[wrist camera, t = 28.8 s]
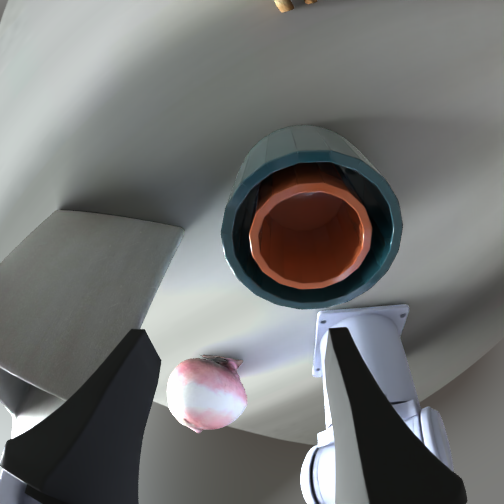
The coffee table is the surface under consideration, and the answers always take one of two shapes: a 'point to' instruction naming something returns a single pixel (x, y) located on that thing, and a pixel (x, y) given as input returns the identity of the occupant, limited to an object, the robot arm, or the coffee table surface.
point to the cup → (309, 226)
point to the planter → (73, 303)
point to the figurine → (289, 4)
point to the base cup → (364, 183)
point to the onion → (206, 393)
